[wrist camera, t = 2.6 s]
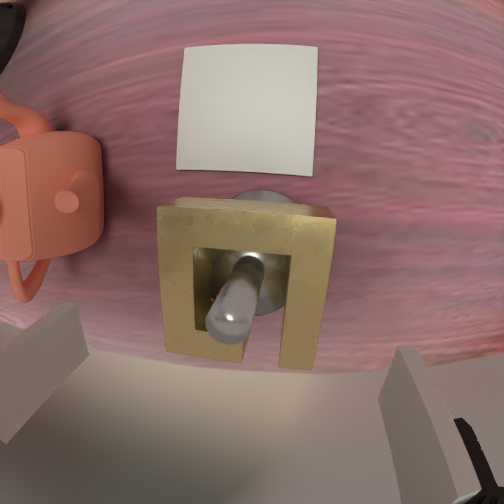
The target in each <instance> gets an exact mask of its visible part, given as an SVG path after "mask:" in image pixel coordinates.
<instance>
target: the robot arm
mask: <svg viewBox="0 0 504 504" xmlns="http://www.w3.org/2000/svg"><path fill="white" fill-rule="evenodd" d="M24 21H25V9H24V7H23V6H22V5H20V4H17V3H13V2H7V3H0V73H1V71H2V70H3V68H4V67H5V65H6V64H7V62H8V60H9V58H10V57H11V55H12V53H13V51H14V49H15V47H16V44H17V42H18V40H19V37H20V35H21V32H22V29H23V25H24ZM88 355H89V353H88V349H87V345H86V342H85V338H84V334H83V330H82V325H81V321H80V317H79V312H78V307H77V304H74V303H71V302H67V301H65V302H63V303H62V304H60V305H59V306H57V307H56V308H54V309H53V310H52V311H50V312H49V313H47V314H46V315H44V316H43V317H42V318H40V319H39V320H37V321H36V322H35V323H33V324H32V325H30V326H29V327H28V328H26V329H25V330H24V331H22V332H21V333H20V334H18V335H17V336H16V337H14V338H13V339H12V340H10V341H9V342H8V343H6V344H5V345H4V346H2V347H1V348H0V440H2V441H3V442H4V443H5V444H7V443H8V441H9V440H10V439H11V438H12V437H13V436H14V435H15V433H16V432H17V431H18V430H19V429H20V428H21V427H22V426H23V425H24V423H25V422H26V421H27V420H28V419H29V418H30V417H31V416H32V415H33V413H34V412H35V411H36V410H37V409H38V408H39V407H40V406H41V405H42V404H43V403H44V401H45V400H46V399H47V398H48V397H49V396H50V395H51V394H52V393H53V392H54V391H55V389H57V388H58V387H59V385H60V384H61V383H62V382H63V381H64V380H65V379H66V378H67V377H68V376H69V375H70V374H71V373H72V372H73V371H74V369H76V368H77V367H78V366H79V365H80V364H81V363H82V362H83V361H84V360H85V359H86V357H87V356H88ZM378 402H379V406H380V409H381V413H382V417H383V421H384V424H385V429H386V433H387V437H388V441H389V445H390V449H391V454H392V458H393V463H394V467H395V472H396V477H397V482H398V487H399V492H400V498H401V503H402V504H504V487H498V485H497V483H496V482H495V479H494V477H493V474H492V471H491V469H490V467H489V464H488V462H487V460H486V457H485V455H484V453H483V451H481V446H480V444H479V442H478V441H477V437H476V435H475V433H474V431H473V429H472V427H471V426H470V425H469V424H468V423H467V422H466V421H465V420H464V419H463V418H457V419H453V418H452V416H451V414H450V412H449V410H448V408H447V406H446V404H445V401H444V399H443V397H442V396H441V393H440V391H439V390H438V387H437V386H436V384H435V382H434V380H433V378H432V376H431V374H430V372H429V370H428V369H427V367H426V365H425V363H424V361H423V359H422V357H421V356H420V354H419V352H418V350H417V349H416V347H415V346H397V349H396V352H395V355H394V358H393V361H392V363H391V366H390V369H389V371H388V374H387V377H386V379H385V382H384V384H383V387H382V389H381V391H380V394H379V396H378Z"/></svg>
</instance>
